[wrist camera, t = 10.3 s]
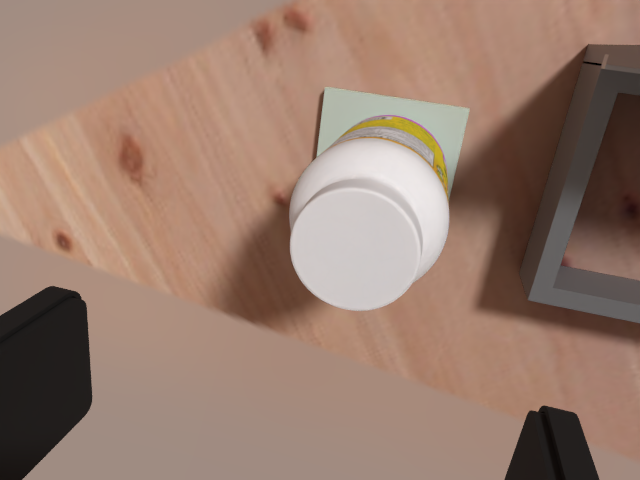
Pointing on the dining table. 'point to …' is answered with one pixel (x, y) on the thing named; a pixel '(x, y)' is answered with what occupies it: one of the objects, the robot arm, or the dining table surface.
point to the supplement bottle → (370, 213)
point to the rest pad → (357, 106)
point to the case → (581, 193)
